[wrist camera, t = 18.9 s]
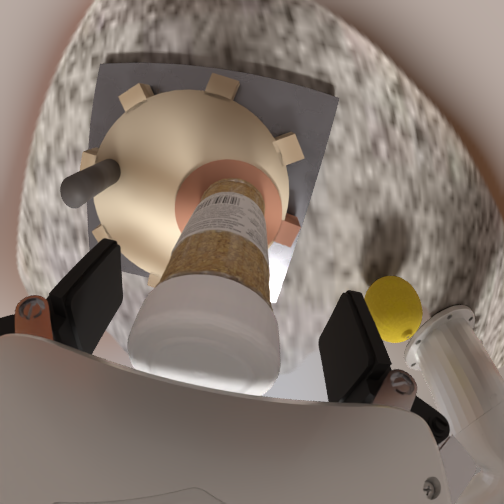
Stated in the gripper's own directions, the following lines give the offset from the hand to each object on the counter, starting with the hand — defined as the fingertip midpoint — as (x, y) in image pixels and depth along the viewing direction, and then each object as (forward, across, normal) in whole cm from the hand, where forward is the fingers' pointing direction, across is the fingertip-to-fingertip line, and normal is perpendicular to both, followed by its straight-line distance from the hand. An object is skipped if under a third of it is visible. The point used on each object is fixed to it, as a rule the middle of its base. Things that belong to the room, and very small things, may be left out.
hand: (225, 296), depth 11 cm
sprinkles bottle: (+10, +1, 0) cm, 10 cm away
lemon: (+14, -15, +6) cm, 21 cm away
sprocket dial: (+11, +4, 0) cm, 12 cm away
